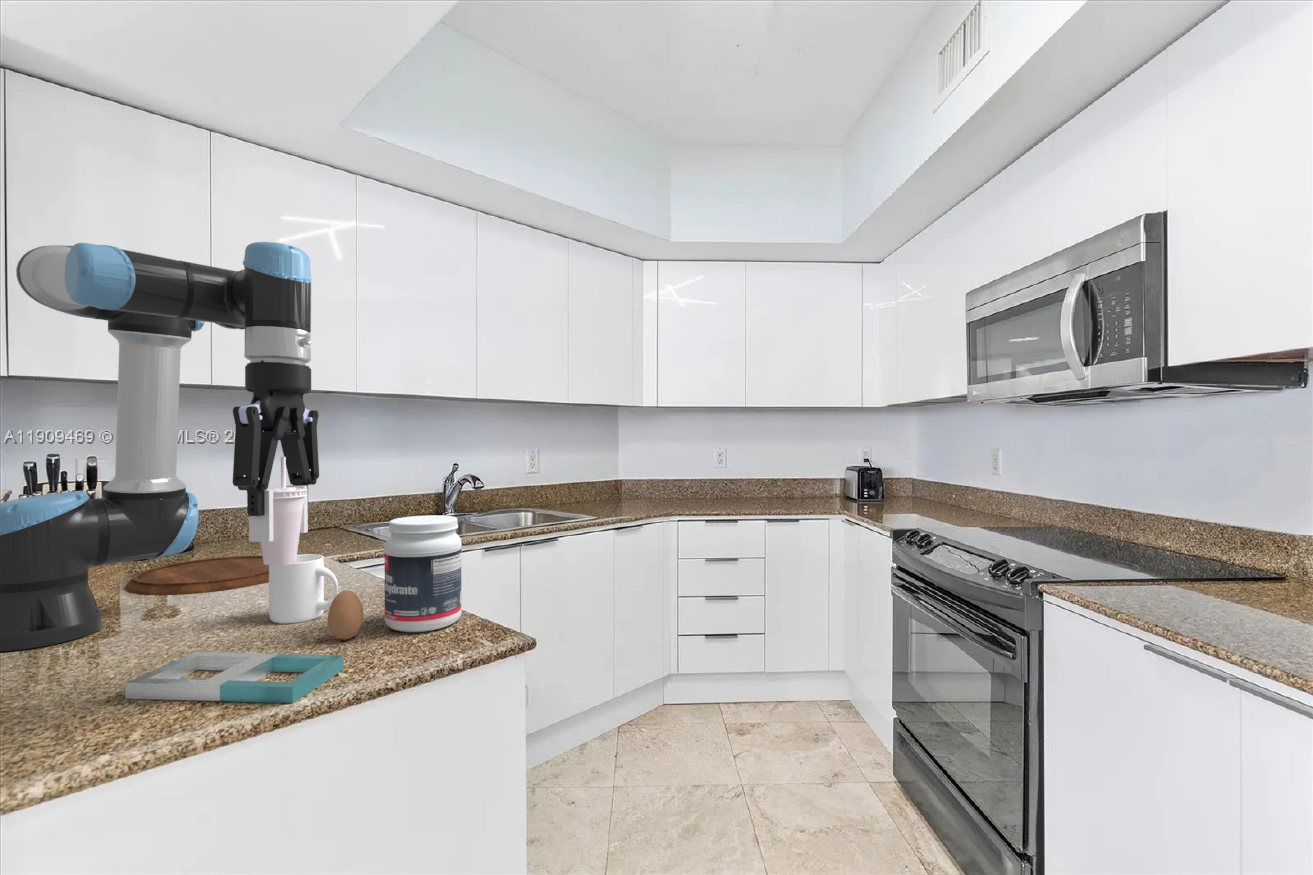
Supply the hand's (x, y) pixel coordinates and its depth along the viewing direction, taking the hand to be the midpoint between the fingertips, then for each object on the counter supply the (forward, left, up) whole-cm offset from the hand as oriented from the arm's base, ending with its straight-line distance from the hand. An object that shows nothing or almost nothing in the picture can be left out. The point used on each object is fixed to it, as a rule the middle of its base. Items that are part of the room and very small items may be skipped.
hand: (279, 536), depth 82 cm
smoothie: (0, 0, -4) cm, 4 cm away
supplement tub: (+7, +27, -20) cm, 34 cm away
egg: (-2, +18, -20) cm, 27 cm away
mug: (-16, +29, -20) cm, 38 cm away
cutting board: (-57, +58, -20) cm, 84 cm away
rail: (-6, 0, -20) cm, 21 cm away
